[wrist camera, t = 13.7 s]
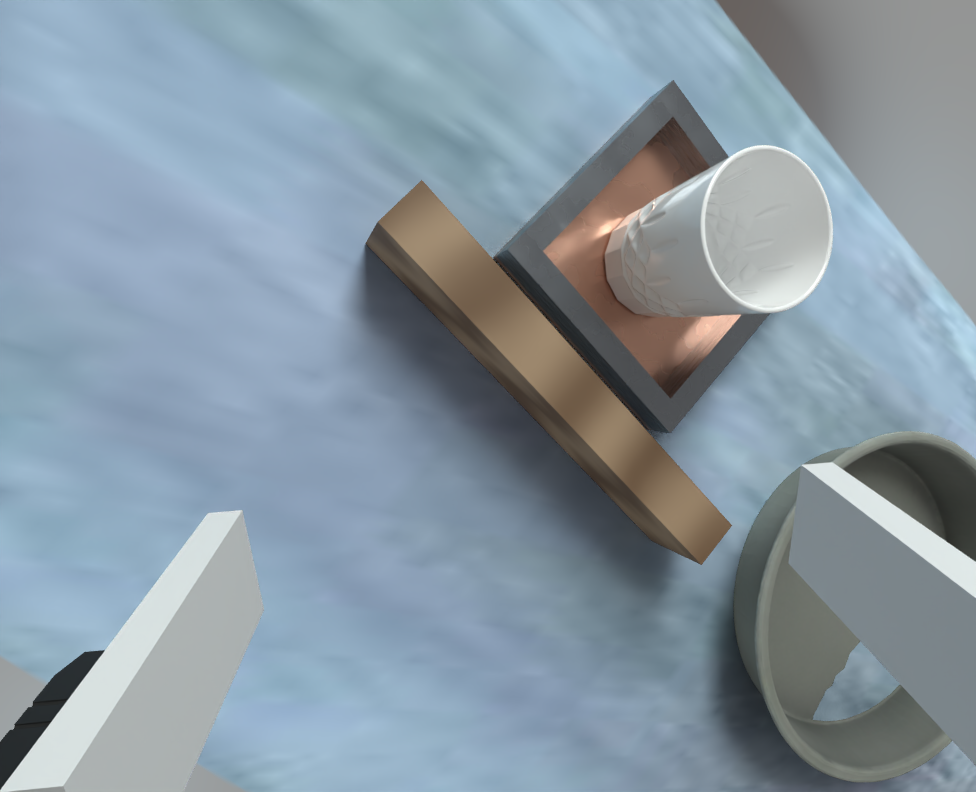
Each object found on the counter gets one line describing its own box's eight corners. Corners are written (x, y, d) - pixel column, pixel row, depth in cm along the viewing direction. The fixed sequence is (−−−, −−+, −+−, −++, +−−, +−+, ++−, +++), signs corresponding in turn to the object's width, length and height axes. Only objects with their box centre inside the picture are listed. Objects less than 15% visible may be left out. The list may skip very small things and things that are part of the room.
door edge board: (365, 243, 32) (377, 221, 28) (403, 207, 33) (421, 180, 28) (651, 540, 39) (701, 564, 34) (679, 506, 39) (732, 525, 35)
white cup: (651, 175, 37) (773, 110, 28) (721, 269, 39) (858, 237, 30) (570, 259, 36) (670, 220, 26) (648, 352, 38) (767, 347, 28)
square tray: (493, 256, 35) (507, 249, 32) (650, 97, 37) (673, 80, 35) (647, 429, 38) (670, 433, 36) (779, 273, 41) (808, 267, 39)
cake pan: (670, 725, 40) (714, 768, 36) (766, 384, 42) (820, 385, 37) (913, 761, 48) (973, 799, 44) (987, 472, 49) (1053, 481, 45)
